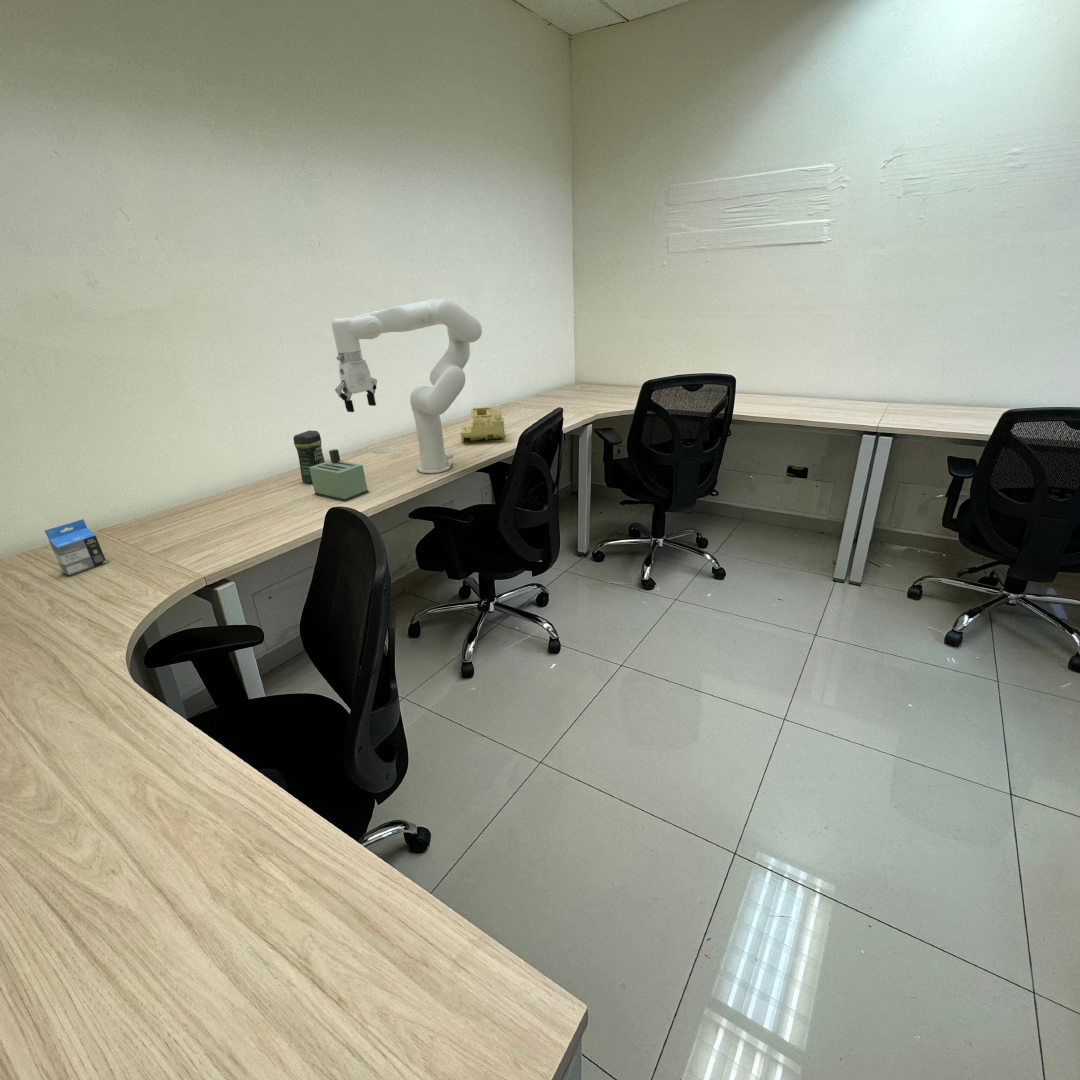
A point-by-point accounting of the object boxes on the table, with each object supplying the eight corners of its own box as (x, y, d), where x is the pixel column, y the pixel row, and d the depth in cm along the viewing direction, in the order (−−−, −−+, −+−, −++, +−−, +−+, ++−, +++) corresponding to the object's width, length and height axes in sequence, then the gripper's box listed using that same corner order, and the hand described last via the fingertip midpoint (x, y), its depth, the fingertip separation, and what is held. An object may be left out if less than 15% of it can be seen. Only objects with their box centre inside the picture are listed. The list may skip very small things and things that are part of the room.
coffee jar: (316, 484, 205) (305, 435, 197) (299, 483, 207) (287, 434, 200) (333, 476, 213) (323, 429, 205) (316, 475, 216) (305, 428, 208)
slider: (336, 460, 196) (334, 449, 194) (340, 460, 195) (338, 449, 193) (331, 461, 194) (328, 450, 192) (334, 462, 193) (332, 451, 191)
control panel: (456, 405, 259) (498, 398, 261) (463, 436, 268) (503, 428, 269) (458, 424, 240) (503, 416, 241) (465, 456, 249) (508, 448, 250)
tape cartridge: (69, 576, 144) (49, 533, 139) (63, 573, 146) (43, 530, 141) (107, 562, 151) (89, 521, 146) (101, 559, 153) (83, 518, 148)
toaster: (338, 485, 202) (332, 459, 198) (368, 492, 194) (362, 464, 190) (315, 494, 195) (308, 467, 191) (345, 501, 187) (339, 472, 182)
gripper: (337, 361, 177) (349, 415, 184) (378, 353, 189) (387, 403, 197) (322, 361, 180) (334, 413, 188) (363, 353, 193) (373, 402, 201)
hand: (361, 408), depth 192 cm, fingers open, 9 cm apart
